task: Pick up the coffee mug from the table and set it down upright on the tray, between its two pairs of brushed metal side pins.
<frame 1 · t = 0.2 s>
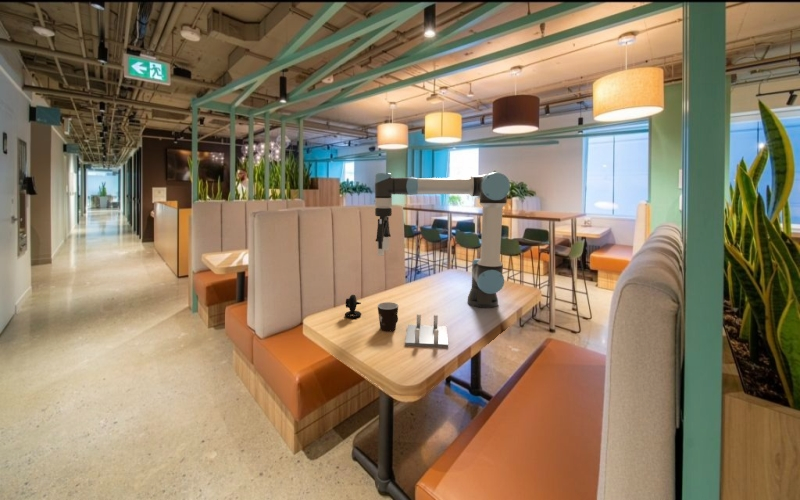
hand: (383, 252, 160), 28 cm above the table, tool pointing down, fingers open, 13 cm apart
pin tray: (426, 336, 134), on the table
webcam: (353, 316, 156), on the table
coffee mug: (388, 330, 141), on the table
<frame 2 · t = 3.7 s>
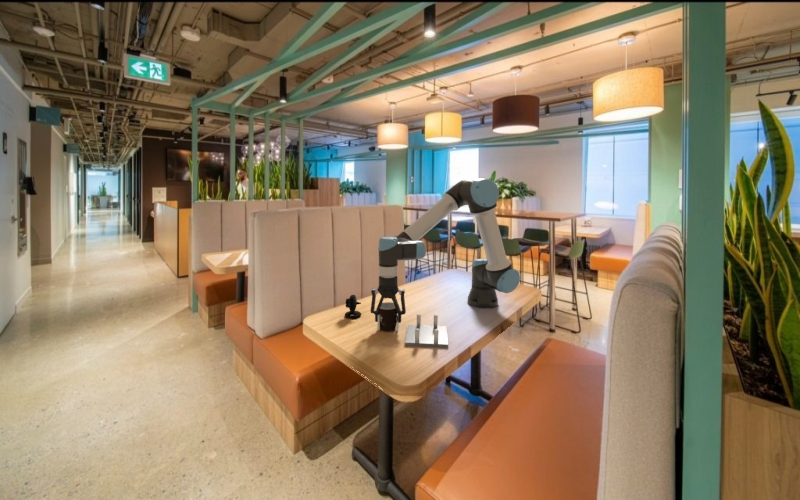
hand: (388, 329, 141), 0 cm above the table, tool pointing down, fingers open, 7 cm apart
coffee mug: (388, 330, 141), on the table, touching gripper
everything else where it was.
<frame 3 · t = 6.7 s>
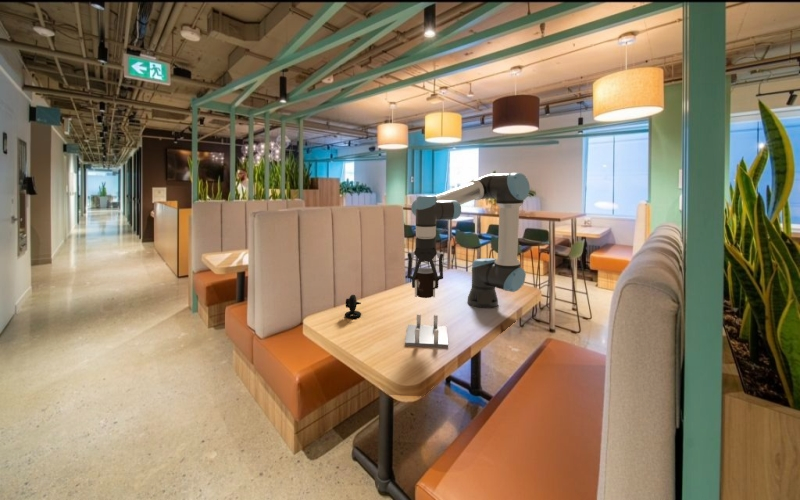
hand: (425, 295, 132), 17 cm above the table, tool pointing down, fingers closed on coffee mug, 6 cm apart
coffee mug: (425, 297, 132), point 16 cm above the table, touching gripper
everything else where it was.
when the fingers open (3 cm above the table, at t = 9.4 s): coffee mug drops 1 cm, resting on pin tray.
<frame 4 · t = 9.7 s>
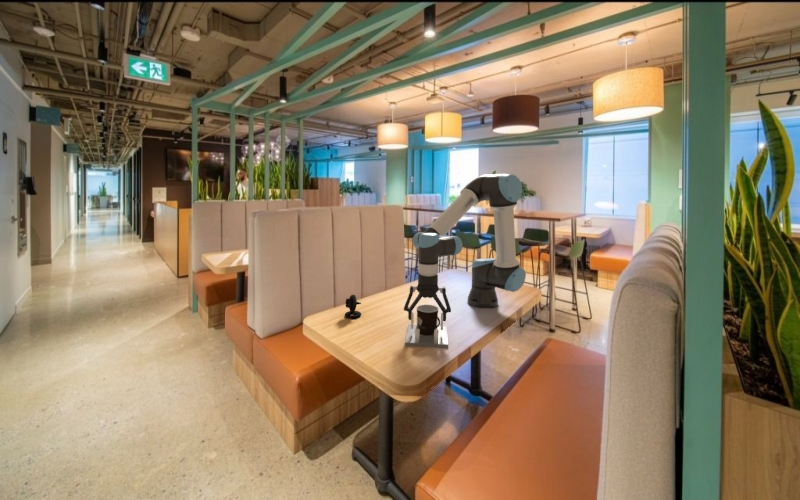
hand: (426, 327, 134), 4 cm above the table, tool pointing down, fingers open, 11 cm apart
coffee mug: (427, 334, 134), point 1 cm above the table, touching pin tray
everything else where it was.
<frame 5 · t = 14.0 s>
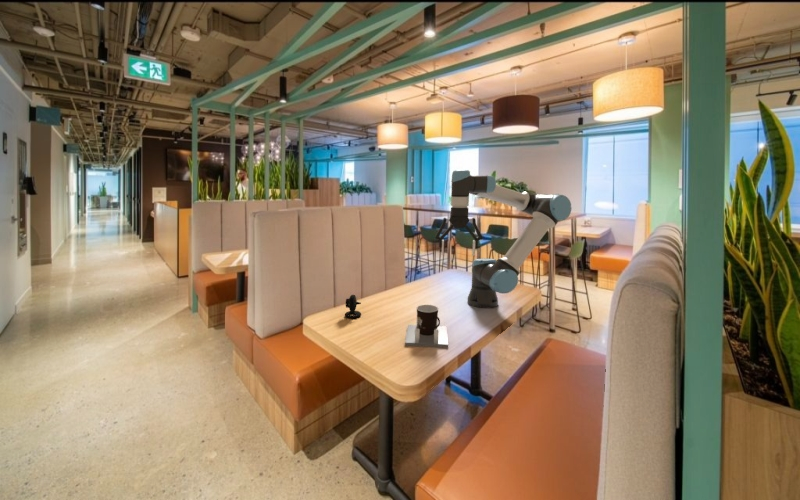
hand: (457, 255, 151), 29 cm above the table, tool pointing down, fingers open, 13 cm apart
nothing on the table moved.
at the end: coffee mug 0.3 cm off-centre on the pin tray, point 1.0 cm above the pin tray's base; coffee mug tilted 0°; the gripper is holding nothing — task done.
